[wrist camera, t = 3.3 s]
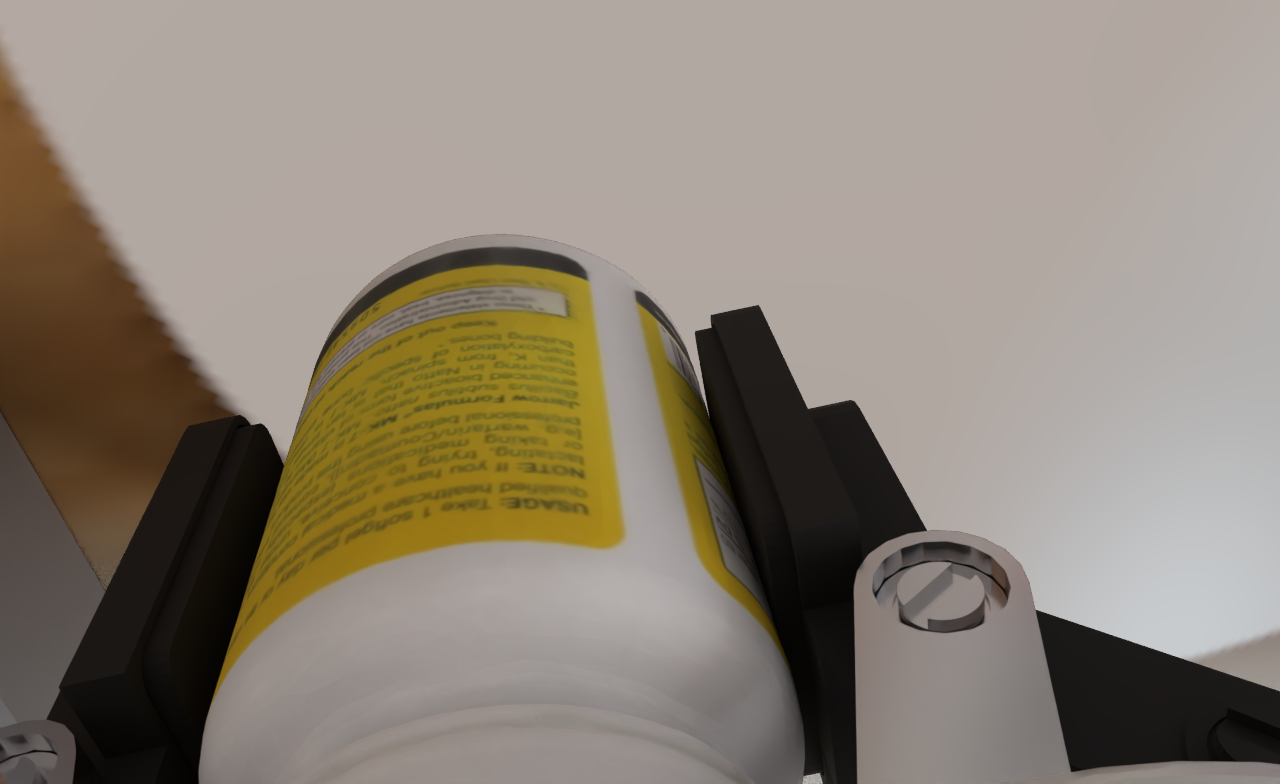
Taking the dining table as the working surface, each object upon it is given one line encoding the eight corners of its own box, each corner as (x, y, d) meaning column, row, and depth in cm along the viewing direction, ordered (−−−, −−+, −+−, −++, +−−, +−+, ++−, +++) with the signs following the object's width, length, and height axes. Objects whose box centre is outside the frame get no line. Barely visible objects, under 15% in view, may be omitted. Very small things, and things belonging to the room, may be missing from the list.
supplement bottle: (252, 453, 14) (-42, 1229, 6) (433, 148, 12) (314, 731, 5) (569, 594, 15) (625, 1329, 8) (767, 345, 14) (1063, 995, 6)
